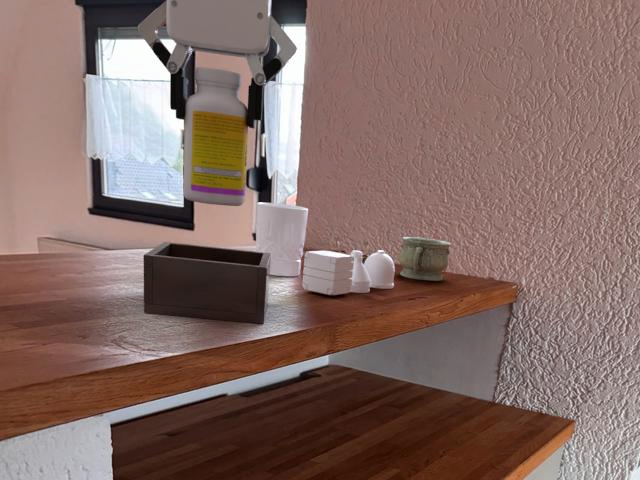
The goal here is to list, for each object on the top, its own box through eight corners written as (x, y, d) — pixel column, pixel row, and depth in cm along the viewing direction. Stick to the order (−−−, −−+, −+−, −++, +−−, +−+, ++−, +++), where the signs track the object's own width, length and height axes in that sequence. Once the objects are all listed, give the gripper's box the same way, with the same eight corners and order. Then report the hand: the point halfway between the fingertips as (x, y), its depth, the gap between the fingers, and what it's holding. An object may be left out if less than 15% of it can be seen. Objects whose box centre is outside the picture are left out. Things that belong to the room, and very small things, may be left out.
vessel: (438, 284, 123) (443, 245, 121) (388, 276, 125) (393, 238, 123) (452, 277, 134) (457, 241, 131) (406, 270, 136) (410, 234, 133)
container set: (332, 298, 99) (336, 257, 97) (300, 291, 101) (304, 250, 99) (399, 287, 115) (403, 251, 113) (370, 281, 118) (374, 246, 115)
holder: (143, 312, 78) (143, 254, 76) (163, 292, 90) (164, 241, 88) (263, 324, 80) (267, 267, 77) (268, 302, 91) (271, 253, 89)
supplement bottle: (254, 208, 80) (262, 75, 75) (197, 204, 76) (201, 64, 71) (228, 201, 85) (233, 76, 80) (173, 197, 81) (175, 66, 76)
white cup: (243, 271, 113) (246, 202, 109) (267, 267, 119) (271, 202, 115) (289, 279, 110) (294, 209, 106) (311, 274, 117) (316, 208, 113)
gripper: (311, -58, 75) (298, 134, 82) (137, -85, 73) (139, 114, 80) (313, -80, 68) (298, 132, 75) (121, -110, 66) (124, 111, 73)
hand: (216, 121), depth 77 cm, fingers closed on supplement bottle, 6 cm apart
